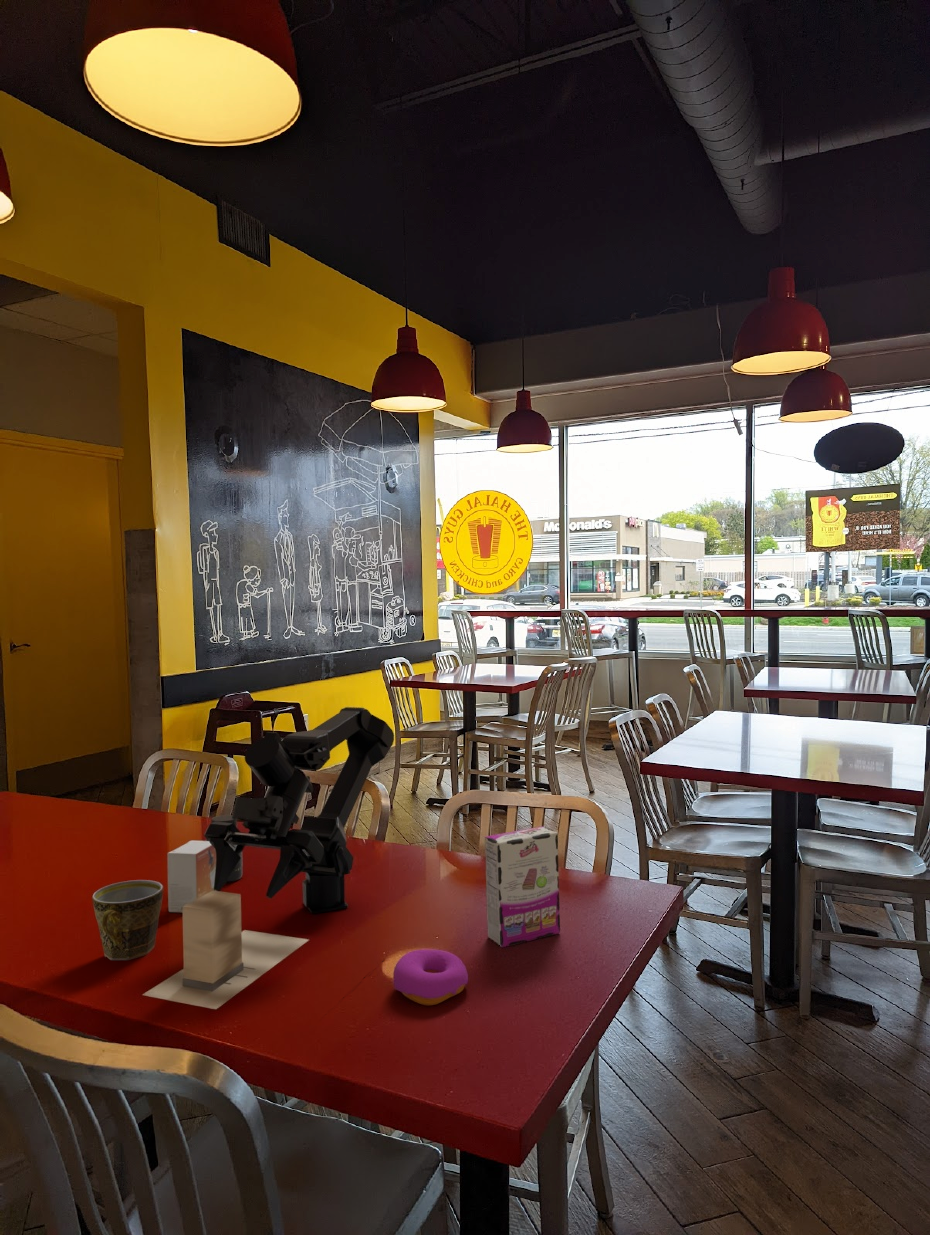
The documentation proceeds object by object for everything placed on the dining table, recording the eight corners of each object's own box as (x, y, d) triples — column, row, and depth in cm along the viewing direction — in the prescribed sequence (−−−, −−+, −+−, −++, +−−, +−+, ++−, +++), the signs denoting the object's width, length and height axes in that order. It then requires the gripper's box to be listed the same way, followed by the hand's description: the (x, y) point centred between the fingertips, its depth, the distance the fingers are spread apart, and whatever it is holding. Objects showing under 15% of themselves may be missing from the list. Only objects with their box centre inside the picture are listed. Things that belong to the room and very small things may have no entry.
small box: (196, 914, 140) (195, 854, 140) (167, 912, 141) (166, 852, 141) (219, 898, 148) (218, 840, 148) (191, 896, 149) (190, 839, 149)
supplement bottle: (198, 882, 157) (197, 820, 157) (221, 871, 163) (220, 812, 163) (227, 886, 154) (226, 823, 154) (250, 875, 161) (249, 814, 160)
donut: (426, 1017, 105) (426, 982, 104) (377, 991, 112) (377, 958, 112) (482, 990, 112) (482, 957, 112) (433, 967, 119) (432, 936, 119)
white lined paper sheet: (244, 935, 131) (244, 930, 131) (309, 944, 127) (309, 939, 127) (142, 1000, 110) (142, 994, 110) (216, 1015, 106) (215, 1009, 106)
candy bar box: (544, 923, 134) (542, 825, 134) (561, 934, 130) (559, 832, 130) (484, 937, 129) (483, 834, 129) (500, 949, 125) (499, 842, 124)
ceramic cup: (112, 942, 129) (111, 879, 129) (174, 942, 129) (173, 879, 129) (70, 980, 116) (69, 910, 116) (139, 980, 116) (137, 910, 116)
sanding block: (214, 964, 119) (213, 889, 118) (243, 969, 117) (242, 893, 117) (182, 986, 112) (180, 906, 112) (212, 991, 110) (210, 911, 110)
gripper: (210, 771, 129) (163, 861, 119) (312, 778, 122) (272, 875, 112) (241, 808, 136) (200, 896, 126) (339, 816, 130) (304, 910, 120)
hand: (241, 894), depth 121 cm, fingers open, 9 cm apart
